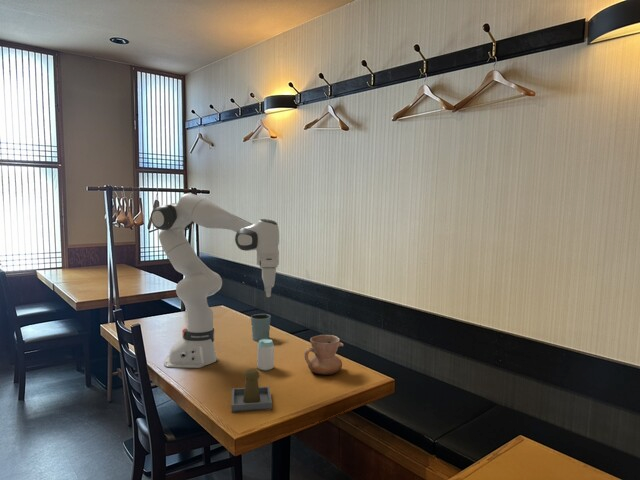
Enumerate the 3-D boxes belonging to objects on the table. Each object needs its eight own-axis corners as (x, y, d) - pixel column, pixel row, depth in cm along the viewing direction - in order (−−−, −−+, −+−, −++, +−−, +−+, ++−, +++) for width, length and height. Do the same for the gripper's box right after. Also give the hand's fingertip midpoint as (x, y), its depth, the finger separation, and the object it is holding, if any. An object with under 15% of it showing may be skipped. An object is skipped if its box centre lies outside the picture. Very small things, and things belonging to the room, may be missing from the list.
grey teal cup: (274, 337, 233) (274, 315, 232) (263, 343, 225) (263, 319, 224) (258, 334, 238) (258, 312, 237) (246, 339, 229) (246, 317, 228)
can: (271, 371, 187) (271, 343, 186) (254, 370, 188) (255, 342, 187) (275, 365, 194) (275, 338, 193) (260, 364, 195) (260, 337, 194)
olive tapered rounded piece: (244, 396, 162) (244, 366, 161) (261, 396, 162) (261, 367, 161) (241, 404, 156) (241, 373, 155) (259, 404, 156) (259, 373, 155)
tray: (231, 412, 151) (231, 405, 150) (232, 395, 164) (232, 388, 164) (271, 409, 153) (272, 402, 153) (269, 392, 166) (269, 386, 166)
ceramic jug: (335, 362, 199) (335, 331, 198) (350, 373, 186) (350, 340, 185) (297, 369, 192) (297, 336, 190) (311, 381, 178) (311, 346, 177)
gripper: (258, 256, 188) (258, 289, 189) (261, 263, 168) (260, 299, 169) (273, 256, 189) (273, 289, 190) (278, 263, 169) (277, 299, 170)
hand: (267, 294), depth 179 cm, fingers open, 8 cm apart
